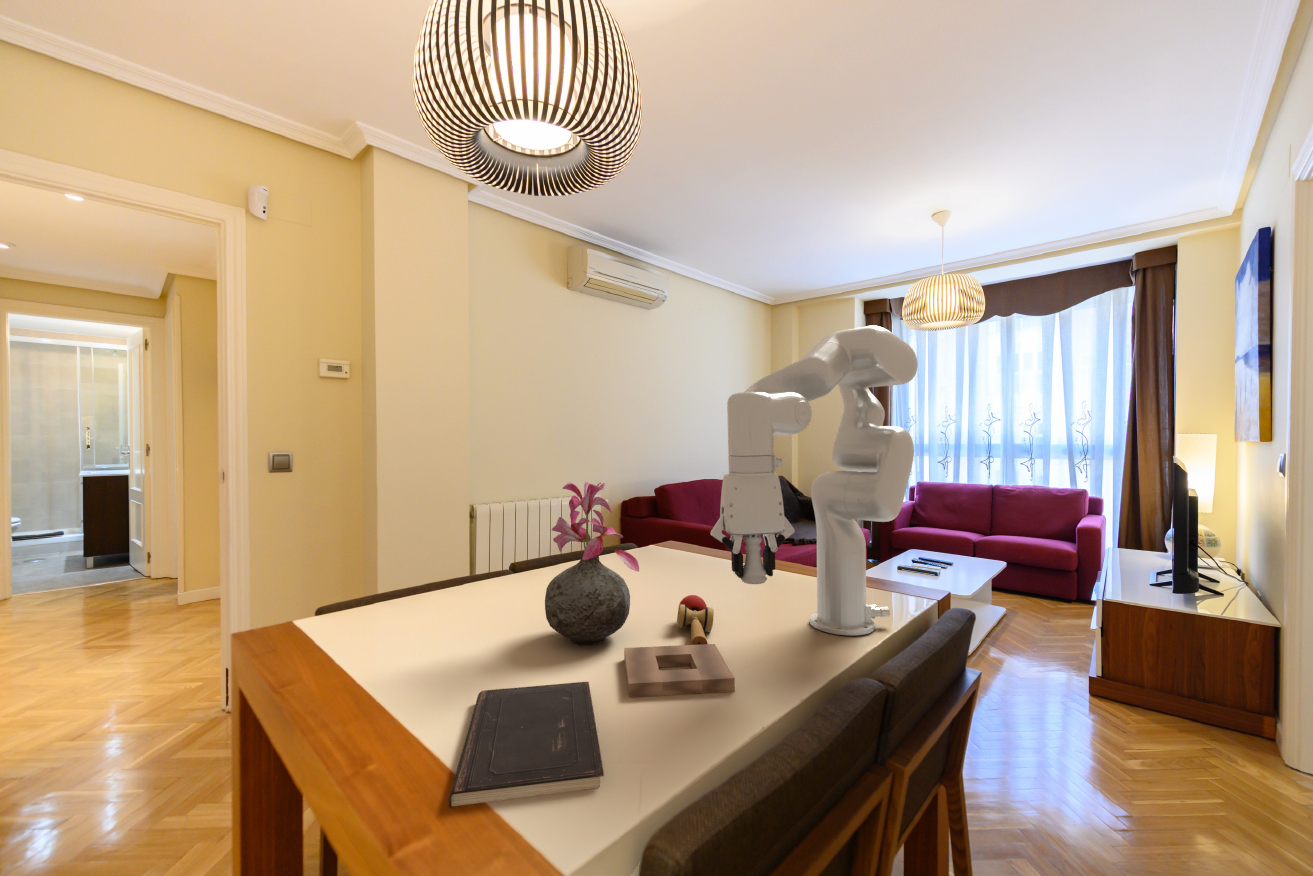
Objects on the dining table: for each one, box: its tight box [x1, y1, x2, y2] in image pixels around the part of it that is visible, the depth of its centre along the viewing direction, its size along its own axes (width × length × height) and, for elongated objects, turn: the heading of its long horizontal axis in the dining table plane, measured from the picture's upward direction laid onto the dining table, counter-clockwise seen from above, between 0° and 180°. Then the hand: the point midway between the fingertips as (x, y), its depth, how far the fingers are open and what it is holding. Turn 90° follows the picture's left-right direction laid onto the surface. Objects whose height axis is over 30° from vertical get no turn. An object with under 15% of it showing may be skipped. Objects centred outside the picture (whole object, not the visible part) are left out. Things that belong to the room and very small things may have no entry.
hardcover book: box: [448, 681, 605, 809], centre depth 68 cm, size 16×23×2 cm
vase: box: [544, 481, 640, 646], centre depth 104 cm, size 17×17×30 cm
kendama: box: [676, 594, 715, 645], centre depth 106 cm, size 8×6×18 cm
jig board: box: [623, 643, 736, 698], centre depth 88 cm, size 16×14×2 cm
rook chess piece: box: [740, 535, 768, 585], centre depth 90 cm, size 4×4×8 cm
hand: (753, 573), depth 90 cm, fingers closed on rook chess piece, 4 cm apart
